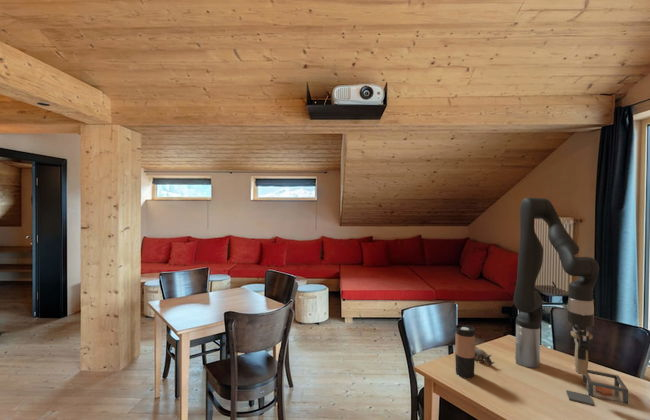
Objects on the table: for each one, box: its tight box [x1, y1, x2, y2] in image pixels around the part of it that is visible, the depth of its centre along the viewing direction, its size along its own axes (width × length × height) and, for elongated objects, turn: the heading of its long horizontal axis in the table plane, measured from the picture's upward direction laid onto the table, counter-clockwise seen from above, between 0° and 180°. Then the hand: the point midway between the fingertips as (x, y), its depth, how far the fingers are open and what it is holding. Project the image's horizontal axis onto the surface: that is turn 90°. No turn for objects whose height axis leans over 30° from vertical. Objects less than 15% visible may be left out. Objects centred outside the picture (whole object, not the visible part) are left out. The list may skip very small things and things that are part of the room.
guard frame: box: [581, 369, 629, 405], centre depth 120 cm, size 11×11×5 cm
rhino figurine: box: [475, 345, 495, 366], centre depth 144 cm, size 4×14×6 cm, turn 23°
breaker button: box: [595, 386, 613, 395], centre depth 120 cm, size 5×5×1 cm
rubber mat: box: [566, 389, 595, 406], centre depth 117 cm, size 7×6×1 cm
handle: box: [570, 330, 594, 376], centre depth 116 cm, size 5×6×15 cm
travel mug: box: [454, 323, 476, 379], centre depth 133 cm, size 8×8×20 cm
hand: (580, 356), depth 116 cm, fingers closed on handle, 4 cm apart
